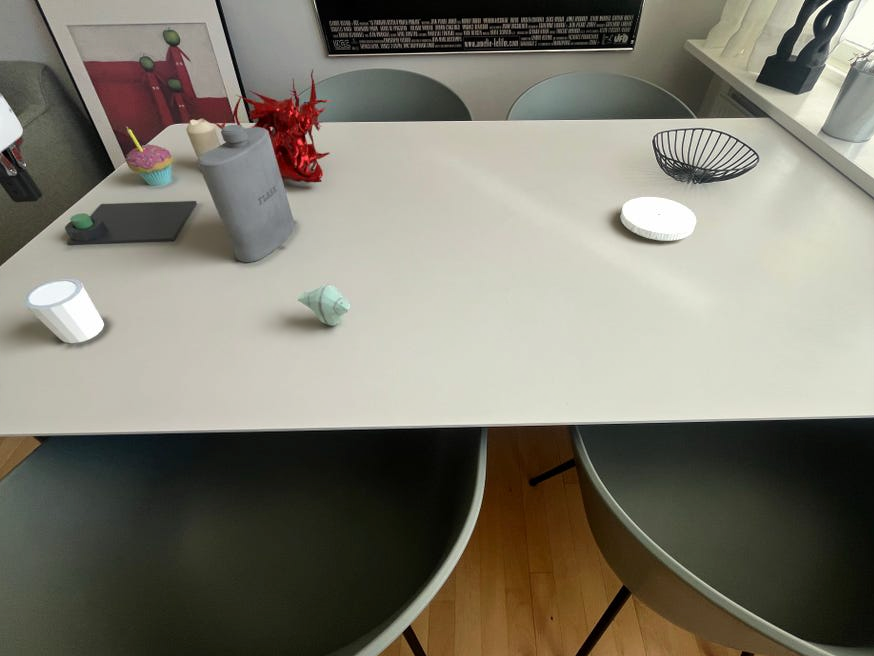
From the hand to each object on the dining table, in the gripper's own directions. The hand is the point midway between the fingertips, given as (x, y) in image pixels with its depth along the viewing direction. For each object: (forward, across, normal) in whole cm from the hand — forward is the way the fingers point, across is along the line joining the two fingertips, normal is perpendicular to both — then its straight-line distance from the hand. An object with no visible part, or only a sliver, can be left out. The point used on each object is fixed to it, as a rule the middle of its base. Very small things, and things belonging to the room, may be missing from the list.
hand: (29, 198), depth 69 cm
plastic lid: (+15, -7, +102) cm, 103 cm away
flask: (+15, -9, +28) cm, 33 cm away
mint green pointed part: (+15, +15, +41) cm, 46 cm away
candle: (+15, -42, +11) cm, 45 cm away
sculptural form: (+15, -40, +29) cm, 51 cm away
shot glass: (+15, +13, +4) cm, 20 cm away
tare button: (+12, -14, -5) cm, 19 cm away
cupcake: (+14, -36, 0) cm, 39 cm away
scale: (+14, -18, +2) cm, 23 cm away
